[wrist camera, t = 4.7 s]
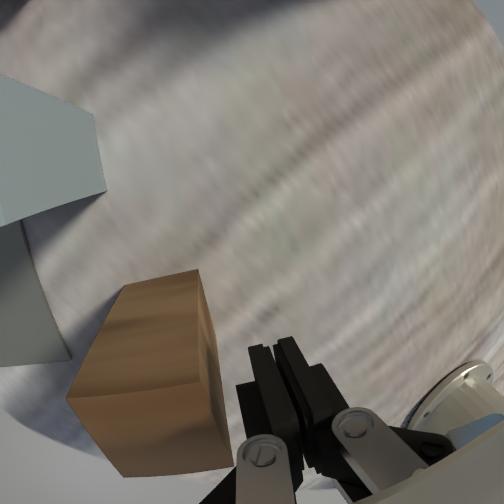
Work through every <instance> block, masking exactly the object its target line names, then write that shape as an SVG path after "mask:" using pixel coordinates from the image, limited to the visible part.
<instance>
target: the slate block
mask: <svg viewBox="0 0 504 504" xmlns="http://www.w3.org/2000/svg"><path fill="white" fill-rule="evenodd" d="M105 191H107V188H106V183H105V179H104V174H103V169H102V164H101V159H100V153H99V148H98V142H97V136H96V130H95V123H94V117H93V114H92V113H90V112H88V111H86V110H83V109H81V108H79V107H77V106H75V105H72V104H70V103H68V102H66V101H63V100H61V99H59V98H57V97H54V96H52V95H50V94H47V93H45V92H43V91H40V90H38V89H36V88H33V87H31V86H28V85H26V84H24V83H21V82H19V81H16V80H14V79H11V78H9V77H6V76H4V75H1V74H0V227H2V226H4V225H7V224H9V223H12V222H15V221H17V220H20V219H23V218H25V217H28V216H31V215H34V214H37V213H39V212H42V211H45V210H48V209H51V208H54V207H57V206H60V205H63V204H66V203H69V202H72V201H75V200H78V199H82V198H85V197H88V196H91V195H95V194H98V193H101V192H105Z"/></svg>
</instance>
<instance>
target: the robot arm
mask: <svg viewBox="0 0 504 504" xmlns="http://www.w3.org/2000/svg"><path fill="white" fill-rule="evenodd" d="M273 350H274V356H275V360H274V358H273V355H272V353H271V350H270V348H269V346H267V347H263V345H262V344H259V345H255V346H250V347H248V351H249V356H250V360H251V365H252V369H253V374H254V378H255V381H253V382H248V383H244V384H239V385H236V390H237V395H238V400H239V404H240V409H241V414H242V418H243V423H244V428H245V432H246V437H247V440H246V441H244V442H243V443H242V444H241V445H240V447H239V448H238V451H237V463H236V467H235V468H234V469H233V470H232V471H231V472H230V473H229V474H228V475H227V476H226V477H225V478H224V479H223V480H222V481H221V482H220V483H219V484H218V485H217V486H216V487H215V488H214V490H212V491H211V492H210V494H208V495H207V496H206V497H205V498H204V499H203V500H202V501H201V502H200V503H199V504H297V502H296V495H295V492H296V491H297V489H298V488H299V486H300V485H301V484H302V482H303V474H302V470H304V461H303V455H304V458H305V460H306V463H307V465H308V467H309V468H312V467H314V468H315V470H316V473H317V474H319V473H321V474H322V475H323V476H326V477H330V478H331V479H332V481H333V483H334V485H335V486H336V488H337V489H338V490H339V492H340V493H341V494H342V496H343V497H344V499H345V500H346V502H347V503H348V504H504V396H502V395H501V394H500V393H499V392H498V391H497V390H496V389H494V388H493V387H492V386H491V385H492V382H493V370H492V368H491V366H490V365H488V364H487V363H486V362H485V361H482V360H476V361H473V362H470V363H467V364H465V365H463V366H462V367H460V368H458V369H457V370H455V371H454V372H453V373H451V374H450V375H449V376H448V377H446V378H445V379H444V380H443V381H442V382H441V383H440V384H439V385H438V386H437V387H436V388H435V389H434V390H433V391H432V392H431V393H430V394H429V395H428V396H427V397H426V399H425V400H424V401H423V403H422V404H421V405H420V406H419V408H418V409H417V411H416V412H415V414H414V415H413V417H412V419H411V421H410V423H409V425H408V428H407V429H403V428H398V427H392V426H387V425H386V424H385V423H384V422H383V421H382V420H381V419H380V418H379V417H378V416H377V415H376V414H375V413H374V412H373V411H371V410H369V409H366V408H361V407H354V408H350V407H349V406H348V404H347V403H346V401H345V399H344V398H343V396H342V395H341V393H340V391H339V390H338V388H337V387H336V385H335V383H334V382H333V380H332V379H331V377H330V375H329V374H328V372H327V370H326V369H325V367H324V366H323V365H322V364H321V363H320V364H317V365H313V366H310V367H309V365H308V363H307V362H306V360H305V358H304V356H303V354H302V353H301V351H300V349H299V347H298V345H297V344H296V342H295V340H294V338H293V337H292V336H291V337H287V338H283V339H279V340H278V344H275V345H273ZM275 361H276V363H275Z"/></svg>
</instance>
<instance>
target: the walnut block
mask: <svg viewBox="0 0 504 504" xmlns="http://www.w3.org/2000/svg"><path fill="white" fill-rule="evenodd" d="M66 400H67V401H68V403H69V405H70V406H71V408H72V409H73V411H74V412H75V414H76V416H77V417H78V419H79V420H80V421H81V423H82V424H83V426H84V427H85V429H86V430H87V432H88V433H89V434H90V436H91V437H92V439H93V440H94V441H95V443H96V444H97V445H98V447H99V448H100V449H101V451H102V452H103V453H104V454H105V456H106V457H107V458H108V460H109V461H110V462H111V463H112V464H113V466H114V467H115V468H116V469H117V471H118V472H119V473H120V474H121V475H122V476H123V477H152V476H166V475H177V474H187V473H195V472H203V471H210V470H216V469H223V468H228V467H234V463H233V457H232V450H231V444H230V438H229V431H228V425H227V418H226V411H225V404H224V397H223V390H222V382H221V375H220V367H219V359H218V351H217V342H216V335H215V331H214V328H213V324H212V321H211V317H210V313H209V309H208V306H207V302H206V298H205V294H204V290H203V287H202V283H201V279H200V275H199V271H198V269H196V270H191V271H187V272H182V273H178V274H173V275H169V276H164V277H160V278H155V279H151V280H146V281H141V282H137V283H132V284H128V285H124V287H123V289H122V291H121V292H120V294H119V296H118V297H117V299H116V301H115V303H114V305H113V306H112V308H111V310H110V312H109V314H108V315H107V317H106V319H105V321H104V323H103V324H102V326H101V328H100V330H99V332H98V334H97V336H96V338H95V340H94V341H93V343H92V345H91V347H90V349H89V351H88V353H87V355H86V357H85V359H84V361H83V363H82V365H81V367H80V369H79V371H78V373H77V375H76V377H75V379H74V382H73V384H72V386H71V388H70V390H69V392H68V394H67V397H66Z"/></svg>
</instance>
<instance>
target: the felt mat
mask: <svg viewBox="0 0 504 504" xmlns="http://www.w3.org/2000/svg"><path fill="white" fill-rule="evenodd" d="M71 359H72V357H71V355H70V353H69V351H68V349H67V346H66V344H65V342H64V340H63V338H62V336H61V334H60V331H59V329H58V327H57V324H56V322H55V320H54V317H53V315H52V313H51V310H50V308H49V305H48V303H47V300H46V298H45V295H44V292H43V290H42V287H41V284H40V281H39V278H38V276H37V273H36V270H35V267H34V264H33V261H32V257H31V254H30V251H29V248H28V244H27V241H26V237H25V233H24V230H23V226H22V222H21V219H20V220H17V221H15V222H12V223H9V224H7V225H4V226H2V227H0V367H7V366H19V365H30V364H40V363H50V362H59V361H67V360H71Z"/></svg>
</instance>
